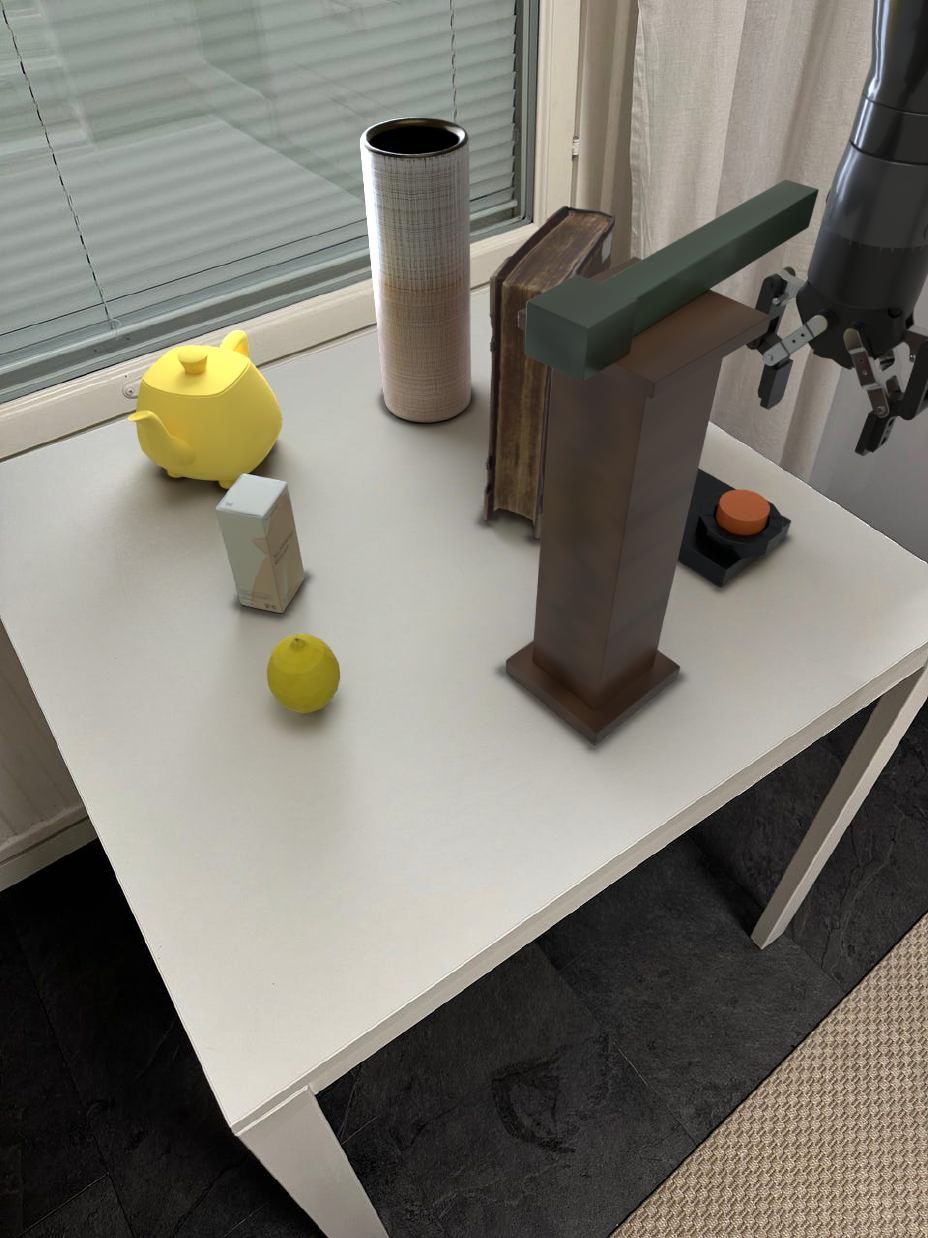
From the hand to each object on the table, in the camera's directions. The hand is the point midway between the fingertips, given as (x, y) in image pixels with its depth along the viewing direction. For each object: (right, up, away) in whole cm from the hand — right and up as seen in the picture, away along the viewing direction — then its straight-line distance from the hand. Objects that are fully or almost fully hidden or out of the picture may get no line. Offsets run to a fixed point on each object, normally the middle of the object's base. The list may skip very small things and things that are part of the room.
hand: (815, 426), depth 70 cm
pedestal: (-17, -20, +4) cm, 26 cm away
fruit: (-40, -22, +2) cm, 46 cm away
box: (-45, -13, +11) cm, 48 cm away
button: (-3, -6, +11) cm, 13 cm away
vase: (-32, +10, +31) cm, 46 cm away
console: (-5, -7, +16) cm, 18 cm away
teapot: (-54, +1, +24) cm, 59 cm away
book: (-19, -2, +21) cm, 28 cm away
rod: (-15, +4, -18) cm, 24 cm away
